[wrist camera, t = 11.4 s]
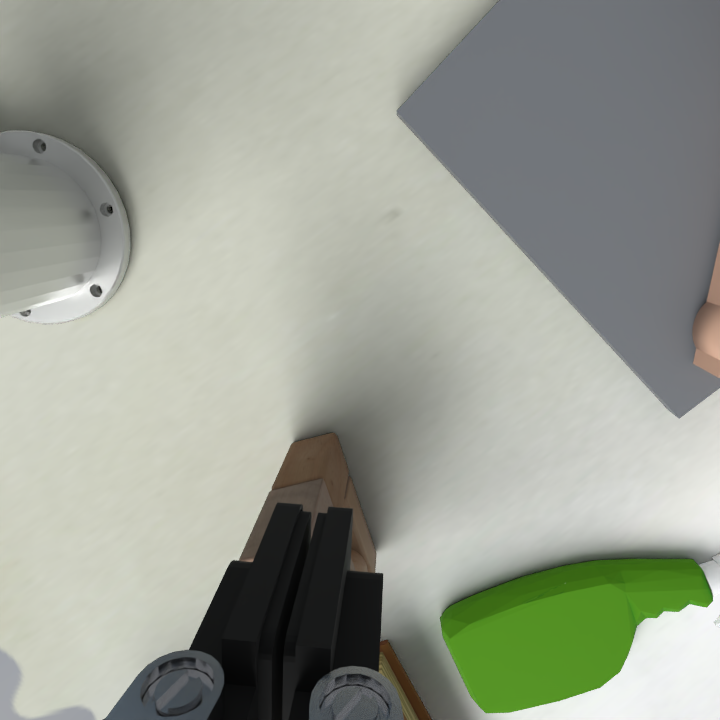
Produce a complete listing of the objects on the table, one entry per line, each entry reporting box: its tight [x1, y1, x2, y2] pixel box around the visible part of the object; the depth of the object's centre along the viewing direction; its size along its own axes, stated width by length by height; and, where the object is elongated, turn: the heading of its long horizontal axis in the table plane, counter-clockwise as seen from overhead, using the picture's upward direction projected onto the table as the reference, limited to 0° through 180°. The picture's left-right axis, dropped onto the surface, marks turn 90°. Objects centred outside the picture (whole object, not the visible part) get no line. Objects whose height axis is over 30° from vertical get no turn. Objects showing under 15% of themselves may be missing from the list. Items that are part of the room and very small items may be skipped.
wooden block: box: [239, 433, 376, 573], centre depth 34 cm, size 4×11×18 cm, turn 17°
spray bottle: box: [440, 554, 720, 713], centre depth 42 cm, size 3×11×24 cm
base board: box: [397, 0, 720, 418], centre depth 33 cm, size 27×20×2 cm
